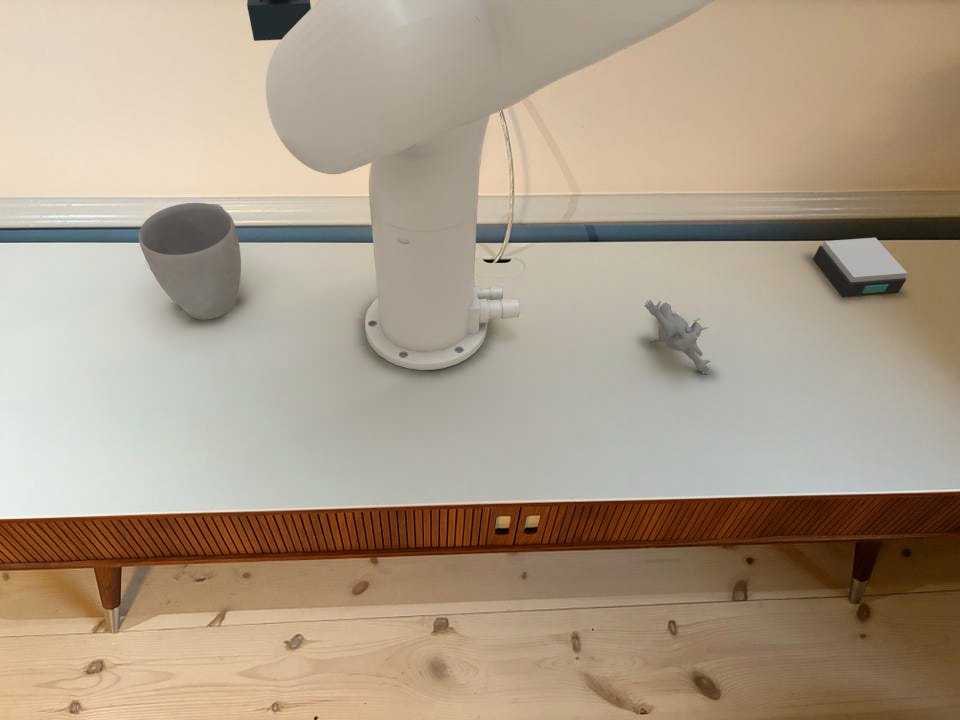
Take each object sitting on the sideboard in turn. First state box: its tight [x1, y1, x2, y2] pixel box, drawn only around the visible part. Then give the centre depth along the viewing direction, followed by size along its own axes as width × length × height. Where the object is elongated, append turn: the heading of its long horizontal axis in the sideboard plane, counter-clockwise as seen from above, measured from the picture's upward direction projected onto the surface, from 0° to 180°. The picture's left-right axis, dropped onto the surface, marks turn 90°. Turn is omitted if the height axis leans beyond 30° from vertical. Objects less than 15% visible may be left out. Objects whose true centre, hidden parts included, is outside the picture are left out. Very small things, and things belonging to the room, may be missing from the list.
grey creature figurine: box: [644, 299, 712, 375], centre depth 70 cm, size 10×6×9 cm
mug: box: [138, 202, 242, 321], centre depth 72 cm, size 12×9×10 cm
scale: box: [812, 237, 908, 298], centre depth 81 cm, size 7×7×3 cm
